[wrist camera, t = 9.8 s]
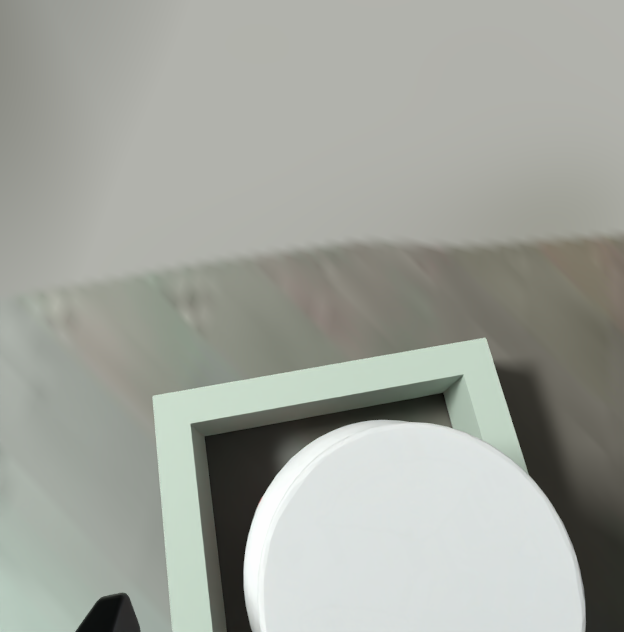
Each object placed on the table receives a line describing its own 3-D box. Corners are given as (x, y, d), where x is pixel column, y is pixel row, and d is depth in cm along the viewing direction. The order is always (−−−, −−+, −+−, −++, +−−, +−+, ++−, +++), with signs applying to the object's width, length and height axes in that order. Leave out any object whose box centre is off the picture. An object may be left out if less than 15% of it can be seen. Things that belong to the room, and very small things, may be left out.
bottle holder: (562, 698, 16) (608, 729, 13) (206, 781, 15) (189, 830, 12) (463, 360, 19) (485, 337, 17) (171, 412, 18) (152, 395, 16)
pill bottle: (297, 432, 18) (296, 338, 9) (464, 486, 18) (648, 445, 8) (237, 618, 16) (155, 748, 7) (424, 685, 16) (605, 921, 6)
